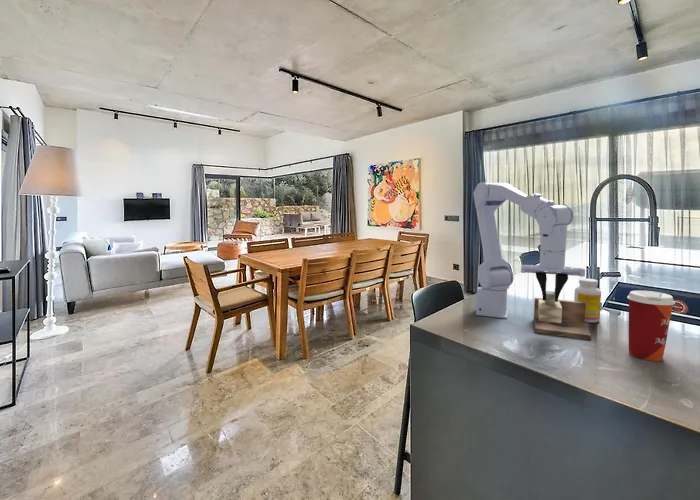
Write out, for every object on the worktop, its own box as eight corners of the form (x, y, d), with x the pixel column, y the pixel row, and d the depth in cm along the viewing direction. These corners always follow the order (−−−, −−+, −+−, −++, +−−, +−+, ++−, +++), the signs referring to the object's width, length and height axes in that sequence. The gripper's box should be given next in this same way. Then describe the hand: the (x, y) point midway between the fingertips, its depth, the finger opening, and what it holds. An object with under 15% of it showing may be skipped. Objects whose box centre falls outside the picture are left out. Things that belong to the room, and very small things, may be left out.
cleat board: (535, 332, 93) (536, 307, 92) (533, 319, 103) (534, 297, 102) (591, 339, 87) (592, 313, 86) (583, 325, 97) (584, 301, 96)
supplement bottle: (603, 324, 98) (606, 282, 96) (579, 323, 99) (581, 281, 98) (592, 316, 104) (594, 277, 103) (569, 316, 106) (571, 277, 104)
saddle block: (539, 320, 86) (540, 294, 86) (537, 313, 93) (539, 289, 92) (561, 323, 84) (562, 296, 83) (558, 315, 91) (559, 290, 90)
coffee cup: (674, 366, 71) (681, 300, 70) (626, 358, 76) (631, 296, 74) (663, 352, 78) (669, 291, 77) (619, 345, 83) (624, 288, 81)
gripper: (521, 251, 86) (519, 301, 88) (588, 253, 79) (584, 307, 81) (521, 248, 92) (519, 294, 94) (583, 250, 86) (580, 300, 87)
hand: (549, 300), depth 88 cm, fingers closed on saddle block
